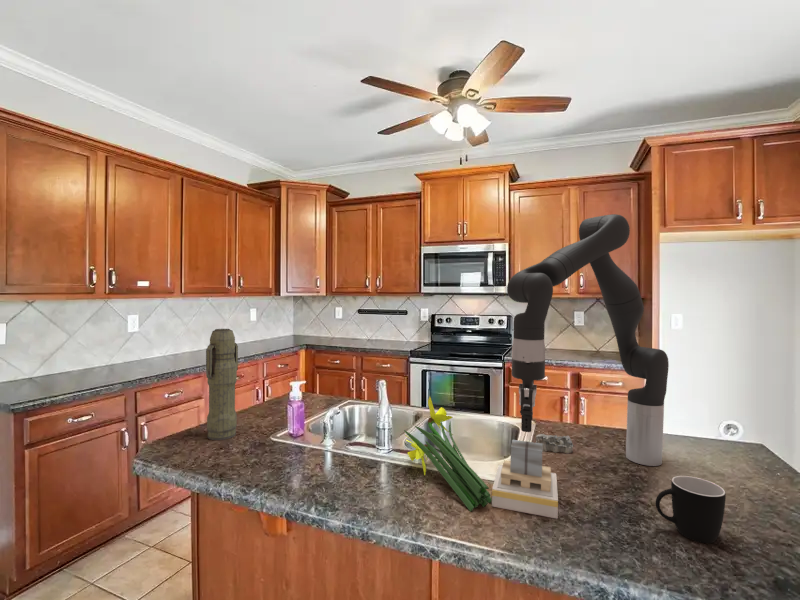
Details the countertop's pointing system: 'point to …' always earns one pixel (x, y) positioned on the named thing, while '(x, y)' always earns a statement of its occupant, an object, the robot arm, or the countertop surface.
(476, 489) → the daffodil flowers
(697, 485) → the mug
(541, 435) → the egg carton
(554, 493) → the dock
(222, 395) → the thermos
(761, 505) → the countertop surface
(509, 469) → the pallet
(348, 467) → the countertop surface
